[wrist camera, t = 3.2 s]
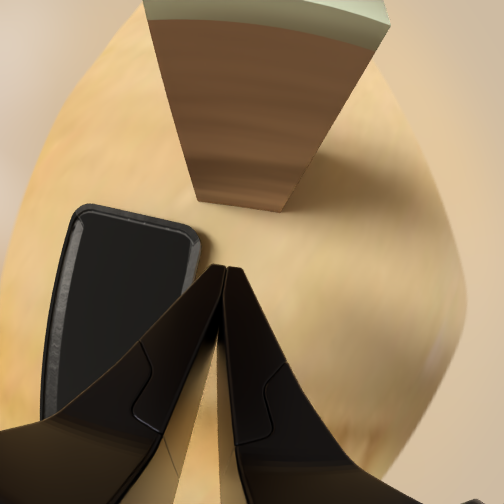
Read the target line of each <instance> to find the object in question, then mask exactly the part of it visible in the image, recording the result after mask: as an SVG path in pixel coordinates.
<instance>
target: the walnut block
mask: <svg viewBox="0 0 504 504" xmlns="http://www.w3.org/2000/svg"><path fill="white" fill-rule="evenodd" d="M143 4H144V8H145V13H146V17H147V21H148V25H149V29H150V33H151V37H152V41H153V45H154V49H155V53H156V57H157V61H158V64H159V68H160V72H161V76H162V79H163V83H164V87H165V91H166V94H167V98H168V102H169V105H170V109H171V112H172V116H173V119H174V123H175V126H176V130H177V133H178V137H179V140H180V144H181V147H182V151H183V154H184V157H185V161H186V164H187V167H188V171H189V174H190V177H191V181H192V184H193V187H194V190H195V194H196V197H197V200H198V201H201V202H209V203H216V204H224V205H231V206H238V207H245V208H252V209H259V210H265V211H272V212H278V213H280V212H281V210H282V209H283V207H284V205H285V204H286V202H287V200H288V199H289V197H290V195H291V194H292V192H293V190H294V189H295V187H296V185H297V184H298V182H299V180H300V179H301V177H302V175H303V173H304V172H305V170H306V168H307V167H308V165H309V163H310V162H311V160H312V158H313V157H314V155H315V153H316V152H317V150H318V148H319V147H320V145H321V143H322V142H323V140H324V138H325V136H326V135H327V133H328V131H329V130H330V128H331V126H332V125H333V123H334V121H335V120H336V118H337V116H338V115H339V113H340V111H341V109H342V108H343V106H344V104H345V103H346V101H347V99H348V98H349V96H350V94H351V93H352V91H353V89H354V87H355V86H356V84H357V82H358V81H359V79H360V77H361V76H362V74H363V72H364V71H365V69H366V67H367V65H368V64H369V62H370V60H371V59H372V57H373V55H374V53H375V51H376V50H377V48H378V47H379V45H380V43H381V42H382V40H383V38H384V37H385V35H386V33H387V31H388V29H389V28H390V26H391V24H390V21H389V18H388V14H387V11H386V8H385V4H384V1H383V0H143Z"/></svg>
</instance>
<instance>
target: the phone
mask: <svg viewBox="0 0 504 504" xmlns="http://www.w3.org/2000/svg"><path fill="white" fill-rule="evenodd" d="M201 247H202V246H201V242H200V239H199V237H198V235H197V234H196V232H195V231H194V230H193V229H192V228H191V227H190V226H187V225H185V224H181V223H177V222H173V221H168V220H164V219H159V218H155V217H150V216H146V215H142V214H137V213H133V212H128V211H124V210H119V209H115V208H110V207H106V206H101V205H96V204H85V205H82V206H80V207H79V208H78V209H77V210H76V211H75V212H74V213H73V215H72V217H71V220H70V223H69V226H68V230H67V233H66V237H65V241H64V244H63V248H62V252H61V256H60V260H59V264H58V269H57V273H56V278H55V282H54V287H53V292H52V297H51V303H50V309H49V315H48V321H47V328H46V335H45V343H44V352H43V362H42V374H41V391H40V421H42V420H44V419H47V418H49V417H51V416H53V415H54V414H56V413H57V412H59V411H60V410H62V409H63V408H64V407H65V406H67V405H68V404H69V403H70V402H71V401H73V400H74V399H75V398H76V397H77V396H79V395H80V394H81V393H82V392H83V391H85V390H86V389H87V388H88V387H89V386H91V385H92V384H93V383H94V382H95V381H97V380H98V379H99V378H100V377H101V376H102V375H104V374H105V373H106V372H107V371H108V370H109V369H110V368H111V367H113V366H114V365H115V364H116V363H117V362H118V361H119V360H120V359H121V358H122V357H123V356H124V355H125V354H126V353H127V352H128V351H129V350H130V349H131V348H132V347H133V345H134V344H135V343H136V342H137V341H140V338H141V337H142V336H143V335H144V334H145V333H146V332H147V331H148V330H149V329H150V328H151V326H152V325H153V324H154V323H155V322H156V321H157V320H158V319H159V318H160V317H161V316H162V315H163V314H164V313H165V312H166V311H167V310H168V309H169V308H170V306H171V305H172V304H173V303H174V302H175V301H176V300H177V299H178V298H179V297H180V296H181V295H182V294H183V293H184V292H185V291H186V290H187V289H188V288H189V287H190V286H191V285H192V283H193V282H194V280H195V276H196V271H197V267H198V263H199V259H200V255H201Z"/></svg>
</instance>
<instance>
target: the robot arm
mask: <svg viewBox="0 0 504 504" xmlns="http://www.w3.org/2000/svg"><path fill="white" fill-rule="evenodd" d="M217 336H218V338H217ZM216 342H217V415H218V451H219V478H220V499H221V504H422V503H420V502H418V501H416V500H415V499H413V498H411V497H409V496H407V495H405V494H403V493H402V492H400V491H398V490H396V489H394V488H393V487H391V486H389V485H387V484H386V483H384V482H382V481H381V480H379V479H377V478H375V477H374V476H372V475H371V474H369V473H367V472H366V471H364V470H363V469H361V468H360V467H359V466H357V465H356V464H355V463H354V462H353V461H352V460H351V459H350V458H349V457H348V456H347V455H346V453H345V452H344V451H343V449H342V448H341V447H340V445H339V444H338V442H337V441H336V440H335V438H334V437H333V435H332V434H331V432H330V431H329V430H328V428H327V427H326V425H325V424H324V422H323V421H322V419H321V418H320V417H319V415H318V414H317V412H316V411H315V409H314V408H313V406H312V405H311V403H310V401H309V400H308V398H307V397H306V395H305V394H304V392H303V390H302V388H301V387H300V385H299V383H298V381H297V379H296V377H295V375H294V373H293V371H292V369H291V367H290V365H289V363H287V360H286V358H285V355H284V353H283V351H282V349H281V347H280V345H279V343H278V341H277V339H276V337H275V335H274V333H273V331H272V329H271V327H270V325H269V323H268V321H267V319H266V316H265V314H264V312H263V310H262V308H261V306H260V304H259V302H258V300H257V298H256V296H255V294H254V291H253V289H252V287H251V285H250V283H249V281H248V279H247V277H246V275H245V273H244V271H243V269H242V268H239V267H232V266H228V267H227V269H226V266H224V265H218V264H211V265H210V266H209V267H208V268H207V269H206V270H205V271H204V272H203V273H202V274H201V275H200V276H199V277H198V278H197V279H196V280H195V281H194V282H193V283H192V285H191V286H190V287H189V288H188V289H187V290H186V291H185V292H184V293H183V294H182V295H181V296H180V297H179V298H178V299H177V300H176V301H175V302H174V303H173V304H172V305H171V306H170V308H169V309H168V310H167V311H166V312H165V313H164V314H163V315H162V316H161V317H160V318H159V319H158V320H157V321H156V322H155V323H154V324H153V325H152V326H151V328H150V329H149V330H148V331H147V332H146V333H145V334H144V335H143V336H142V337H141V338H140V341H137V342H136V343H135V344H134V345H133V347H132V348H131V349H130V350H129V351H128V352H127V353H126V354H125V355H124V356H123V357H122V358H121V359H120V360H119V361H118V362H117V363H116V364H115V365H114V366H113V367H111V368H110V369H109V370H108V371H107V372H106V373H105V374H104V375H102V376H101V377H100V378H99V379H98V380H97V381H95V382H94V383H93V384H92V385H91V386H89V387H88V388H87V389H86V390H85V391H83V392H82V393H81V394H80V395H79V396H77V397H76V398H75V399H74V400H73V401H71V402H70V403H69V404H68V405H67V406H65V407H64V408H63V409H62V410H60V411H59V412H57V413H56V414H54V415H53V416H51V417H49V418H47V419H44V420H42V421H39V422H35V423H32V424H28V425H24V426H19V427H15V428H11V429H7V430H2V431H0V504H173V501H174V498H175V494H176V490H177V486H178V482H179V478H180V475H181V471H182V467H183V464H184V460H185V456H186V452H187V449H188V445H189V441H190V438H191V434H192V430H193V427H194V423H195V419H196V415H197V412H198V408H199V405H200V401H201V397H202V394H203V390H204V386H205V383H206V379H207V375H208V372H209V368H210V365H211V361H212V357H213V354H214V350H215V346H216ZM462 504H484V503H483V502H481V501H480V500H478V499H473V500H470V501H467V502H465V503H462Z"/></svg>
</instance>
